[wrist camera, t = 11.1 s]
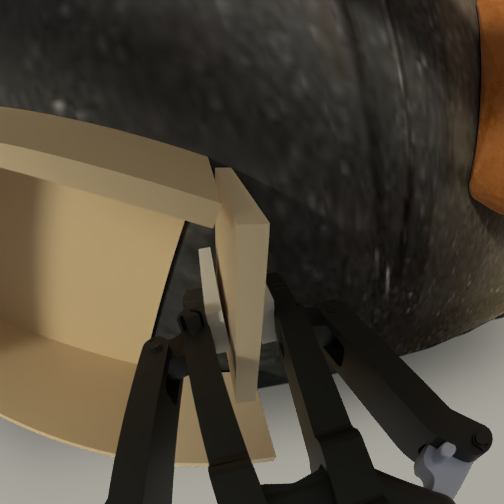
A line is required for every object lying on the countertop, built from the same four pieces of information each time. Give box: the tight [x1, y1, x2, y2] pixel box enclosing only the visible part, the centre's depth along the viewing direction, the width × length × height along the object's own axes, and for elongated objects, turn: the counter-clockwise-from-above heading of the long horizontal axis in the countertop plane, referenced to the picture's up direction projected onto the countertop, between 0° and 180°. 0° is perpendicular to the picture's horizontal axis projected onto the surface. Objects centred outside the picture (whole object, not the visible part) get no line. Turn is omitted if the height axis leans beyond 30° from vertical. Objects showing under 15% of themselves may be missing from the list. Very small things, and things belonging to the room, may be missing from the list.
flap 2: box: [174, 372, 276, 467], centre depth 21 cm, size 1×9×10 cm, turn 80°
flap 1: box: [215, 168, 270, 403], centre depth 15 cm, size 1×9×10 cm, turn 178°
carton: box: [0, 106, 222, 457], centre depth 13 cm, size 20×20×10 cm
